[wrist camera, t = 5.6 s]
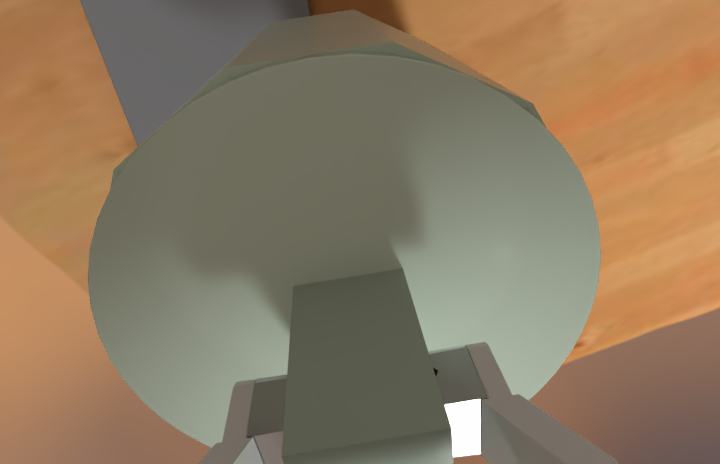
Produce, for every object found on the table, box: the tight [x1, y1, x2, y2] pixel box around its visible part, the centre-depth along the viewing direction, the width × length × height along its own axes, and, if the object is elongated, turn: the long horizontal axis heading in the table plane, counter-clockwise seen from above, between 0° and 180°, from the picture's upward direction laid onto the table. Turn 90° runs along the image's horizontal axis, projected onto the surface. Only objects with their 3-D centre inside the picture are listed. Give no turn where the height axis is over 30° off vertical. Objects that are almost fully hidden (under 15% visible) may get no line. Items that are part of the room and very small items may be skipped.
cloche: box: [88, 9, 601, 464], centre depth 16 cm, size 14×14×18 cm
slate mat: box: [80, 0, 310, 146], centre depth 34 cm, size 15×15×1 cm
